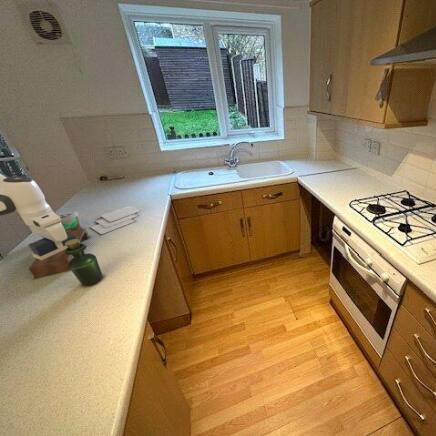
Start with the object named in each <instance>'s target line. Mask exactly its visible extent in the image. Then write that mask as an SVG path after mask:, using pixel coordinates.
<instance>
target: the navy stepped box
mask: <svg viewBox="0 0 436 436" xmlns="http://www.w3.org/2000/svg"><path fill="white" fill-rule="evenodd" d="M73 239H76V237H75V236H74V235H71V234H69V233H68V234H67V239H66V240H64V241H62V244H63V247H61V248H57V247H56V246H55V242H54V241H52V240H49V239H47V238H41V239H38V240H36V241H33V242H31V243H28V244H27V245H28V247H29V248H30V250H31V252H32V256H33V258H35V259H36V258H37V259H39V260H43V259H45V258H47V257H50V256H52V255H54V254H56V253H58V252H60V251H63V250H65V249H67V248H68V247H67V246H66V245H65V243H66V242H68V241H70V240H73ZM79 243H81V241H79Z"/></svg>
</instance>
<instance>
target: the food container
mask: <svg viewBox="0 0 436 436" xmlns="http://www.w3.org/2000/svg"><path fill="white" fill-rule="evenodd" d="M58 216H59V217H60V218H61V221H60V223H61V224H62V225H63V227H64V229H65V232H69V231H75V230H80V229H82V225H81V223H80V219H79V212H77V211H76V210H75V211H74V212H73V213H68V214H61V215H58Z"/></svg>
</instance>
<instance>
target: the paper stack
mask: <svg viewBox="0 0 436 436" xmlns="http://www.w3.org/2000/svg"><path fill="white" fill-rule="evenodd" d="M139 212H141V209H138V208H136V207H134V206H132V205H127V206H125V207H122V208H119V209H116V210H113V211H109V212H107V213H103V214H100V217H101V218H100V219H98V220H96V221H95V222H96V223H98V224H95V225H92V226H90V228H91V229H93V230H94V231H95V232H96V233H98V234H100V235H103V234H106V233H109V232H112V231H114V230H117V229H119V228H122V227H124V226H126V225H129V224H132V223H134V222H135V220H133V219H134V218H136V217H138V216H139V215H138V214H136V213H139Z"/></svg>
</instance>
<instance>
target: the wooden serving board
mask: <svg viewBox="0 0 436 436" xmlns="http://www.w3.org/2000/svg"><path fill="white" fill-rule="evenodd" d="M68 233H69V234H71V235H74V236H75V237H76V239H78V240H79V241H80V242H81V241H85V240H89V239H90V235H89V232H88V231H87V229H86V228H81V229H80V230H75V231H69V232H66V234H68ZM65 250H66V249H65ZM65 250H63V251H60V252H58V253H56V254H54V255H52V256H50V257H47V258H45V259H43V260H39V259H37V258H35V259H34V261H33V262H32V263H31V265H30V266H29V267H28V270H29V272H30V273H31V275H32V276H33V277H34V279H39V278H43V277H48V276H52V275H56V274H60V273H63V272H68V271H69V272H70V271H71V269H70V268H69V267H68V265H69V261H70V260H71V259H72V257H73V256H72V255H67V254H66V252H65Z"/></svg>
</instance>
